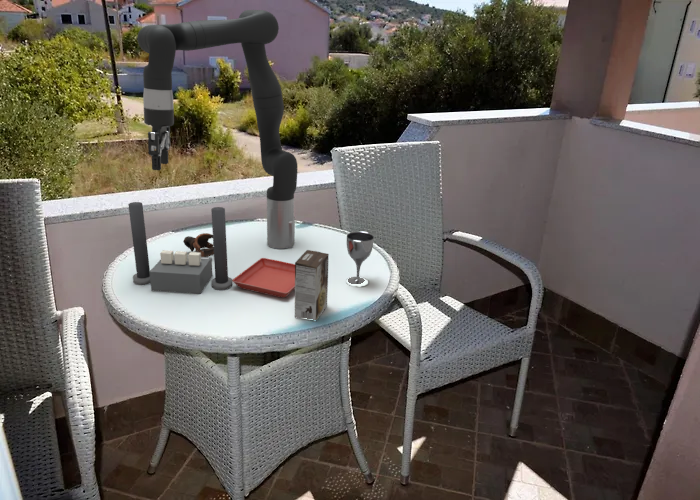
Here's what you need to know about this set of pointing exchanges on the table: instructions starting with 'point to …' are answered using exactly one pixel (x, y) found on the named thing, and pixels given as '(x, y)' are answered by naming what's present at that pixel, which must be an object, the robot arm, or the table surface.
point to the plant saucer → (268, 277)
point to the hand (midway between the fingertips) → (160, 166)
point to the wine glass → (359, 251)
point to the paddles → (180, 258)
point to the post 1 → (139, 244)
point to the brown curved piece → (200, 244)
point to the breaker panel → (181, 276)
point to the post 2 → (220, 250)
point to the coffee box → (311, 284)
